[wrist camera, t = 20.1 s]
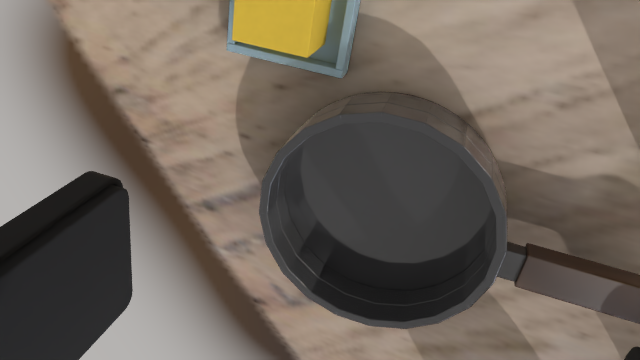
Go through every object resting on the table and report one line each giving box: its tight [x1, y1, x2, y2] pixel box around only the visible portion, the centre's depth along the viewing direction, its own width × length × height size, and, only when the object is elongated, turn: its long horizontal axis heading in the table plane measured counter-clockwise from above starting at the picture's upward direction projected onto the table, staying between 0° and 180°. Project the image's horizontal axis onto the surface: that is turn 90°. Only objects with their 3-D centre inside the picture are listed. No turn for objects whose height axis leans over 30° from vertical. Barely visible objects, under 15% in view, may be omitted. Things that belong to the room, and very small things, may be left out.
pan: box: [259, 92, 507, 329], centre depth 33 cm, size 15×15×4 cm
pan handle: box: [497, 242, 640, 324], centre depth 30 cm, size 2×10×1 cm, turn 82°
